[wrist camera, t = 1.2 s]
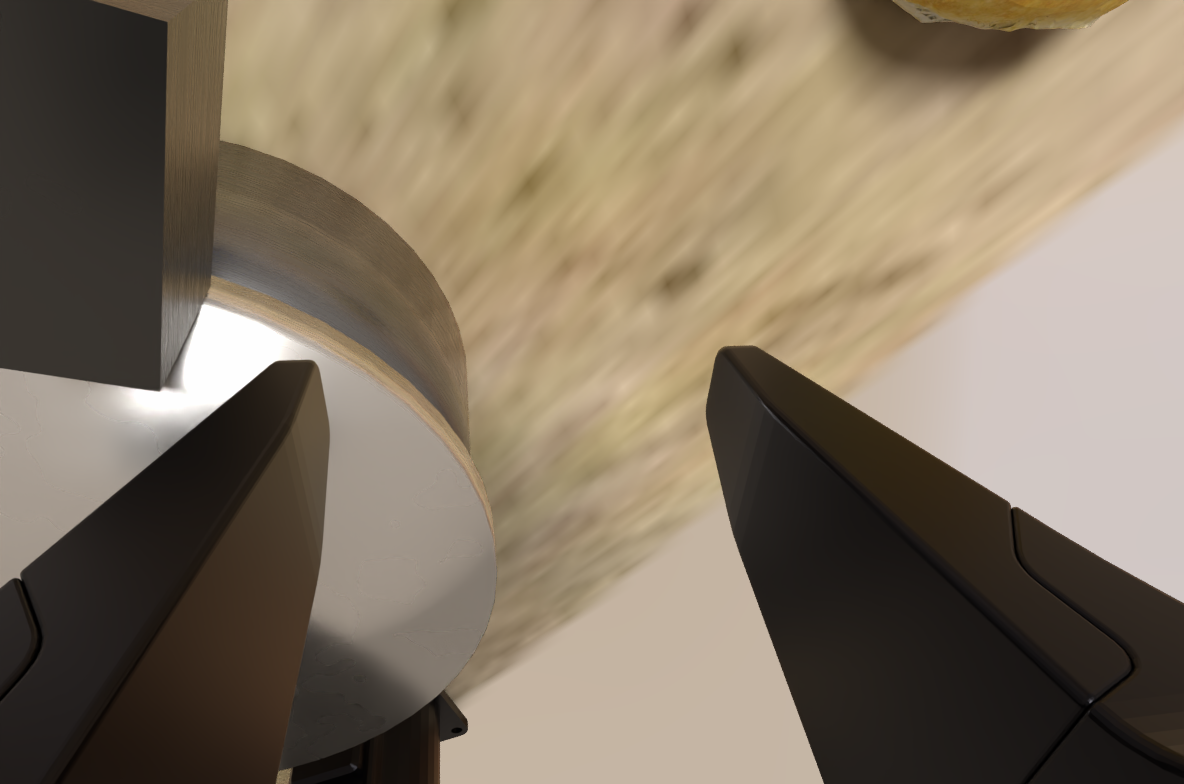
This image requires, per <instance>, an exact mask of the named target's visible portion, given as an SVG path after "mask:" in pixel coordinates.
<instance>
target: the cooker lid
mask: <svg viewBox="0 0 1184 784" xmlns="http://www.w3.org/2000/svg"><path fill="white" fill-rule="evenodd" d="M227 7H228V0H0V588H1V587H2V586H3V585H4V584H6V583H7V582H8V581H9V580H11V579H13V578H19V579H20V580H21V578H20V573H21V571H22V570H23V569H24V568H25V567H27V566H28V565H29V564H30V563H31V562H33V561H34V560H35V559H36V558H37V557H39V556H40V555H41V554H42V553H44V552H45V551H46V550H47V549H48V548H50V547H51V546H52V545H53V544H54V543H56V542H57V541H58V540H59V539H60V538H62V537H63V536H64V535H65V534H66V533H68V532H69V531H70V530H71V529H72V528H74V527H75V526H76V525H77V524H79V523H80V522H81V521H82V520H83V519H85V518H86V517H87V516H88V515H89V514H91V513H92V512H93V511H94V510H95V509H97V508H98V507H99V506H100V505H101V504H103V503H104V502H105V501H106V500H107V499H109V498H110V497H111V496H112V495H113V494H115V493H116V492H117V491H118V490H120V489H121V488H122V487H123V486H124V485H126V484H127V483H128V482H129V481H130V480H132V479H133V478H134V477H135V476H136V475H138V474H139V473H140V472H141V471H142V470H144V469H145V468H146V467H147V466H148V465H150V464H151V463H152V462H153V461H154V460H156V459H157V458H158V457H159V456H161V455H162V454H163V453H164V452H165V451H167V450H168V449H169V448H170V447H171V446H173V445H174V444H175V443H176V442H177V441H179V440H180V439H181V438H182V437H183V436H185V435H186V434H187V433H188V432H189V431H191V430H192V429H193V428H194V427H196V426H197V425H198V424H199V423H200V422H202V421H203V420H204V419H205V418H206V417H208V416H209V415H210V414H211V413H212V412H214V411H215V410H216V409H217V408H218V407H220V406H221V405H222V404H223V403H224V402H226V401H227V400H228V399H229V398H230V397H232V396H233V395H234V394H235V393H237V392H238V391H239V390H240V389H241V388H243V387H244V386H245V385H246V384H247V383H249V382H250V381H251V380H252V379H253V378H255V377H256V376H257V375H258V374H259V373H261V372H262V371H263V370H264V369H265V368H267V367H268V366H269V365H270V364H272V363H273V362H275V361H279V360H313V361H315V362H316V364H317V365H318V367H319V370H320V374H321V380H322V385H323V391H324V397H325V402H326V408H327V413H328V419H329V427H330V447H329V461H328V475H327V490H326V504H325V518H324V532H323V545H322V554H321V564H320V570H319V576H318V582H317V587H316V592H315V597H314V601H313V606H312V611H311V616H310V621H309V626H308V630H307V635H306V640H305V645H304V650H303V654H302V659H301V664H300V669H299V674H298V678H297V683H296V688H295V693H294V698H293V702H292V707H291V712H290V717H289V722H288V726H287V731H286V736H285V741H284V746H283V750H282V755H281V760H280V765H279V770H278V771H280V770H284V769H289V768H292V767H296V766H299V765H302V764H306V763H309V762H313V761H316V760H320V759H323V758H326V757H328V756H331V755H333V754H336V753H339V752H341V751H344V750H347V749H349V748H352V747H355V746H357V745H359V744H361V743H363V742H365V741H367V740H369V739H371V738H373V737H375V736H378V735H380V734H382V733H384V732H386V731H387V730H389V729H391V728H392V727H394V726H396V725H397V724H399V723H400V722H402V721H404V720H405V719H407V718H409V717H410V716H412V715H413V714H415V713H416V712H417V711H418V710H420V709H421V708H422V707H424V706H425V705H426V704H428V703H429V702H430V701H431V700H433V699H434V698H435V697H437V696H438V695H439V694H440V693H441V692H442V691H443V690H444V689H445V688H446V687H447V686H448V684H449V683H450V682H451V681H452V680H453V679H454V678H455V677H456V676H457V675H458V674H459V673H460V671H461V670H462V669H463V667H464V666H465V665H466V663H467V662H468V660H469V659H470V658H471V656H472V655H473V654H474V652H475V650H476V648H477V646H478V644H479V642H480V640H481V638H482V636H483V634H484V632H485V630H486V628H487V625H488V622H489V619H490V615H491V612H492V608H493V605H494V601H495V591H496V579H497V564H496V550H495V537H494V528H493V520H492V511H491V507H490V504H489V501H488V497H487V494H486V491H485V488H484V484H483V481H482V478H481V476H480V474H479V473H478V471H477V469H476V467H475V465H474V463H473V461H472V459H471V457H470V455H469V453H468V451H467V449H466V447H465V446H464V444H463V443H462V442H461V440H460V439H459V437H458V436H457V435H456V433H455V432H454V431H453V429H452V428H451V427H450V425H449V424H448V422H447V421H446V420H445V418H444V417H443V416H442V414H441V413H440V412H439V411H438V410H437V409H436V408H435V407H434V406H433V405H432V404H431V403H430V402H429V401H428V400H427V399H426V398H425V397H424V396H423V395H422V394H421V393H420V392H419V391H418V390H417V389H416V388H415V387H414V386H413V385H412V383H411V382H409V381H408V380H407V379H406V378H404V377H403V376H402V375H401V374H399V373H398V372H397V371H396V370H394V369H393V368H392V367H390V366H389V365H388V364H387V363H385V362H384V361H383V360H382V359H380V358H379V357H378V356H377V355H375V354H374V353H373V352H372V351H370V350H369V349H367V348H365V347H364V346H362V345H360V344H359V343H357V342H356V341H354V340H352V339H351V338H349V337H347V336H346V335H344V334H343V333H341V332H339V331H338V330H336V329H335V328H333V327H331V326H330V325H328V324H326V323H325V322H323V321H321V320H319V319H317V318H315V317H313V316H311V315H308V314H306V313H304V312H302V311H300V310H298V309H296V308H294V307H292V306H290V305H288V304H285V303H283V302H281V301H279V300H277V299H275V298H273V297H271V296H269V295H266V294H263V293H260V292H258V291H255V290H252V289H249V288H246V287H244V286H241V285H238V284H235V283H232V282H230V281H227V280H224V279H221V278H218V277H216V276H213V275H211V272H212V256H213V239H214V223H215V206H216V189H217V173H218V156H219V140H220V123H221V106H222V90H223V73H224V57H225V40H226V24H227ZM21 581H22V580H21Z"/></svg>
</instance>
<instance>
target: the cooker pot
mask: <svg viewBox="0 0 1184 784" xmlns="http://www.w3.org/2000/svg"><path fill="white" fill-rule="evenodd" d="M211 275H213V276H216V277H218V278H221V279H224V280H227V281H230V282H232V283H235V284H238V285H241V286H244V287H246V288H249V289H252V290H255V291H258V292H260V293H263V294H266V295H269V296H271V297H273V298H275V299H277V300H279V301H281V302H283V303H285V304H288V305H290V306H292V307H294V308H296V309H298V310H300V311H302V312H304V313H306V314H308V315H311V316H313V317H315V318H317V319H319V320H321V321H323V322H325V323H326V324H328V325H330V326H331V327H333V328H335V329H336V330H338V331H339V332H341V333H343V334H344V335H346V336H347V337H349V338H351V339H352V340H354V341H356V342H357V343H359V344H360V345H362V346H364V347H365V348H367V349H369V350H370V351H372V352H373V353H374V354H375V355H377V356H378V357H379V358H380V359H382V360H383V361H384V362H385V363H387V364H388V365H389V366H390V367H392V368H393V369H394V370H396V371H397V372H398V373H399V374H401V375H402V376H403V377H404V378H406V379H407V380H408V381H409V382H411V383H412V385H413V386H414V387H415V388H416V389H417V390H418V391H419V392H420V393H421V394H422V395H423V396H424V397H425V398H426V399H427V400H428V401H429V402H430V403H431V404H432V405H433V406H434V407H435V408H436V409H437V410H438V411H439V412H440V413H441V414H442V416H443V417H444V418H445V420H446V421H447V422H448V424H449V425H450V427H451V428H452V429H453V431H454V432H455V433H456V435H457V436H458V437H459V439H460V440H461V442H462V443H463V444H464V446H465V447H466V449H467V451H468V453H469V455H470V438H469V413H468V389H467V371H466V356H465V352H464V347H463V343H462V339H461V334H460V330H459V327H458V325H457V322H456V320H455V317H454V315H453V312H452V310H451V307H450V305H449V302H448V301H447V299H446V297H445V295H444V294H443V292H442V290H441V288H440V287H439V285H438V283H437V282H436V280H435V278H434V276H433V275H432V274H431V272H430V271H429V270H428V268H427V267H426V266H425V264H424V263H423V262H422V261H421V259H420V258H419V257H418V255H417V254H416V253H415V252H414V250H413V249H412V248H411V247H410V246H409V245H408V244H407V243H406V242H405V241H404V240H403V239H402V238H401V237H400V236H399V235H398V234H397V233H396V232H395V231H394V230H393V229H392V228H391V227H390V226H389V225H388V224H387V223H386V222H385V221H383V220H382V219H381V218H380V217H378V216H377V215H376V214H374V213H373V212H372V211H371V210H369V209H368V208H367V207H366V206H364V205H363V204H362V203H361V202H359V201H358V200H357V199H355V198H353V197H352V196H350V195H349V194H347V193H345V192H344V191H342V190H340V189H339V188H337V187H336V186H334V185H332V184H331V183H329V182H328V181H326V180H324V179H323V178H321V177H319V176H316V175H314V174H312V173H310V172H308V171H306V170H304V169H302V168H300V167H297V166H295V165H293V164H291V163H289V162H287V161H285V160H282V159H279V158H276V157H274V156H271V155H268V154H265V153H262V152H259V151H256V150H253V149H250V148H248V147H245V146H241V145H237V144H233V143H228V142H224V141H219V156H218V173H217V189H216V206H215V223H214V239H213V256H212V272H211Z"/></svg>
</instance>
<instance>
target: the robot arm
mask: <svg viewBox="0 0 1184 784" xmlns="http://www.w3.org/2000/svg"><path fill="white" fill-rule="evenodd" d="M706 420H707V426H708V431H709V435H710V439H711V443H712V448H713V452H714V456H715V461H716V465H717V469H718V474H719V478H720V482H721V486H722V491H723V495H724V499H725V504H726V508H727V512H728V516H729V520H730V524H731V528H732V531H733V535H734V538H735V541H736V544H737V547H738V550H739V553H740V556H741V558H742V561H743V564H744V567H745V569H746V572H747V575H748V577H749V580H750V583H751V586H752V588H753V591H754V594H755V597H756V599H757V602H758V605H759V608H760V610H761V613H762V616H763V618H764V621H765V624H766V627H767V629H768V632H769V634H770V638H771V640H772V643H773V646H774V648H775V651H776V654H777V656H778V659H779V662H780V664H781V667H782V670H783V672H784V676H785V678H786V681H787V684H788V686H789V689H790V692H791V695H792V697H793V700H794V703H795V706H796V708H797V711H798V714H799V717H800V719H801V722H802V725H803V727H804V730H805V733H806V736H807V738H808V741H809V744H810V747H811V749H812V752H813V755H814V757H815V760H816V763H817V766H818V768H819V771H820V774H821V777H822V779H823V782H824V784H1184V603H1182V602H1180V601H1179V600H1177V599H1175V598H1173V597H1171V596H1169V595H1168V594H1166V593H1164V592H1162V591H1160V590H1158V589H1156V588H1155V587H1153V586H1151V585H1149V584H1147V583H1146V582H1144V581H1142V580H1140V579H1138V578H1137V577H1134V576H1133V575H1131V574H1129V573H1128V572H1126V571H1124V570H1122V569H1120V568H1118V567H1117V566H1115V565H1113V564H1111V563H1109V562H1108V561H1106V560H1104V559H1102V558H1101V557H1099V556H1097V555H1096V554H1094V553H1092V552H1091V551H1089V550H1087V549H1085V548H1084V547H1082V546H1080V545H1079V544H1077V543H1075V542H1074V541H1072V540H1070V539H1068V538H1067V537H1065V536H1064V535H1062V534H1060V533H1058V532H1057V531H1055V530H1053V529H1052V528H1050V527H1049V526H1047V525H1045V524H1044V523H1042V522H1040V521H1039V520H1037V519H1036V518H1034V517H1032V516H1031V515H1029V514H1028V513H1026V512H1024V511H1023V510H1021V509H1020V508H1018V507H1013V508H1012V509H1011V505H1010V503H1009V502H1008V501H1006V500H1005V499H1003V498H1001V497H1000V496H998V495H997V494H995V493H993V492H992V491H990V490H988V489H987V488H985V487H984V486H982V485H980V484H979V483H977V482H975V481H974V480H972V479H971V478H969V477H967V476H966V475H964V474H962V473H961V472H959V471H958V470H956V469H954V468H953V467H951V466H950V465H948V464H946V463H945V462H943V461H941V460H940V459H938V458H936V457H935V456H933V455H931V454H930V453H928V452H927V451H925V450H924V449H922V448H920V447H919V446H917V445H915V444H914V443H912V442H911V441H909V440H907V439H906V438H904V437H902V436H901V435H899V434H898V433H896V432H894V431H893V430H891V429H889V428H888V427H886V426H885V425H883V424H881V423H880V422H878V421H877V420H875V419H873V418H872V417H870V416H868V415H867V414H865V413H863V412H862V411H860V410H858V409H857V408H855V407H854V406H852V405H850V404H849V403H847V402H846V401H844V400H842V399H841V398H839V397H838V396H836V395H834V394H833V393H831V392H829V391H828V390H826V389H825V388H823V387H821V386H820V385H818V384H817V383H815V382H813V381H812V380H810V379H808V378H807V377H805V376H804V375H802V374H800V373H799V372H797V371H795V370H794V369H792V368H791V367H789V366H787V365H786V364H784V363H782V362H781V361H779V360H778V359H776V358H774V357H773V356H771V355H769V354H768V353H766V352H765V351H763V350H761V349H760V348H758V347H756V346H725V347H723V348H721V349H720V350H719V351H718V353H717V355H716V358H715V363H714V368H713V373H712V378H711V383H710V388H709V393H708V398H707V404H706ZM329 447H330V427H329V419H328V413H327V408H326V402H325V397H324V391H323V385H322V380H321V374H320V370H319V367H318V365H317V364H316V362H315V361H313V360H279V361H275V362H273V363H272V364H270V365H269V366H268V367H267V368H265V369H264V370H263V371H262V372H261V373H259V374H258V375H257V376H256V377H255V378H253V379H252V380H251V381H250V382H249V383H247V384H246V385H245V386H244V387H243V388H241V389H240V390H239V391H238V392H237V393H235V394H234V395H233V396H232V397H230V398H229V399H228V400H227V401H226V402H224V403H223V404H222V405H221V406H220V407H218V408H217V409H216V410H215V411H214V412H212V413H211V414H210V415H209V416H208V417H206V418H205V419H204V420H203V421H202V422H200V423H199V424H198V425H197V426H196V427H194V428H193V429H192V430H191V431H189V432H188V433H187V434H186V435H185V436H183V437H182V438H181V439H180V440H179V441H177V442H176V443H175V444H174V445H173V446H171V447H170V448H169V449H168V450H167V451H165V452H164V453H163V454H162V455H161V456H159V457H158V458H157V459H156V460H154V461H153V462H152V463H151V464H150V465H148V466H147V467H146V468H145V469H144V470H142V471H141V472H140V473H139V474H138V475H136V476H135V477H134V478H133V479H132V480H130V481H129V482H128V483H127V484H126V485H124V486H123V487H122V488H121V489H120V490H118V491H117V492H116V493H115V494H113V495H112V496H111V497H110V498H109V499H107V500H106V501H105V502H104V503H103V504H101V505H100V506H99V507H98V508H97V509H95V510H94V511H93V512H92V513H91V514H89V515H88V516H87V517H86V518H85V519H83V520H82V521H81V522H80V523H79V524H77V525H76V526H75V527H74V528H72V529H71V530H70V531H69V532H68V533H66V534H65V535H64V536H63V537H62V538H60V539H59V540H58V541H57V542H56V543H54V544H53V545H52V546H51V547H50V548H48V549H47V550H46V551H45V552H44V553H42V554H41V555H40V556H39V557H37V558H36V559H35V560H34V561H33V562H31V563H30V564H29V565H28V566H27V567H25V568H24V569H23V570H22V571H21V573H20V578H21V580H22V581H21V580H20V579H19V578H13V579H11V580H9V581H8V582H7V583H6V584H4V585H3V586H2V587H1V588H0V784H276V779H277V775H278V770H279V765H280V760H281V755H282V750H283V746H284V741H285V736H286V731H287V726H288V722H289V717H290V712H291V707H292V702H293V698H294V693H295V688H296V683H297V678H298V674H299V669H300V664H301V659H302V654H303V650H304V645H305V640H306V635H307V630H308V626H309V621H310V616H311V611H312V606H313V601H314V597H315V592H316V587H317V582H318V576H319V570H320V564H321V554H322V545H323V532H324V518H325V504H326V490H327V475H328V461H329ZM467 730H468V721H467V719H466V718H465V716H464V715H463V714H462V713H461V711H460V710H459V709H458V707H457V706H456V705H455V704H454V702H453V701H452V700H451V699H450V697H449V696H448V695H447V694H446V692H445V691H444V690H443V691H442V692H441V693H440V694H439V695H438V696H437V697H435V698H434V699H433V700H431V701H430V702H429V703H428V704H426V705H425V706H424V707H422V708H421V709H420V710H418V711H417V712H416V713H415V714H413V715H412V716H410V717H409V718H407V719H405V720H404V721H402V722H400V723H399V724H397V725H396V726H394V727H392V728H391V729H389V730H387V731H386V732H384V733H382V734H380V735H378V736H375V737H373V738H371V739H369V740H367V741H365V742H363V743H361V744H359V745H357V746H355V747H352V748H349V749H347V750H344V751H341V752H339V753H336V754H333V755H331V756H328V757H326V758H323V759H320V760H316V761H313V762H309V763H306V764H302V765H299V766H296V767H292V768H291V773H290V779H289V784H440V742H441V741H444V740H448V739H451V738H454V737H458V736H461V735H463V734H465V733H466V732H467Z"/></svg>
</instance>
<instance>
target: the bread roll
mask: <svg viewBox="0 0 1184 784" xmlns="http://www.w3.org/2000/svg"><path fill="white" fill-rule="evenodd" d="M892 1H893V2H894V3H896V4H897V5H898V6H899V7H901V8H902V9H903V10H904V11H906V12H908V13H909V14H911V15H912V16H913V17H914V18H915V19H917V20H918V21H919V22H921V23H930V22H935V21H936V22H938V21H939V22H957V23H959V24H966V25H969V26H972V27H976V28H979V29H996V30H1002V31H1008V32H1011V31H1014V30H1017V29H1021V28H1031V29H1056V28H1062V29H1081V28H1087V27H1090V26H1091V25H1092V24H1093V23H1094V22H1095V21H1096V20H1097V19H1098V18H1099V17H1100V16H1102V15H1104V14H1106V13H1108V12H1109V11H1111V10H1113V9H1115V8H1117V7H1119V6H1120V5H1122V4H1124V3H1125V2H1127V1H1128V0H892Z"/></svg>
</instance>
